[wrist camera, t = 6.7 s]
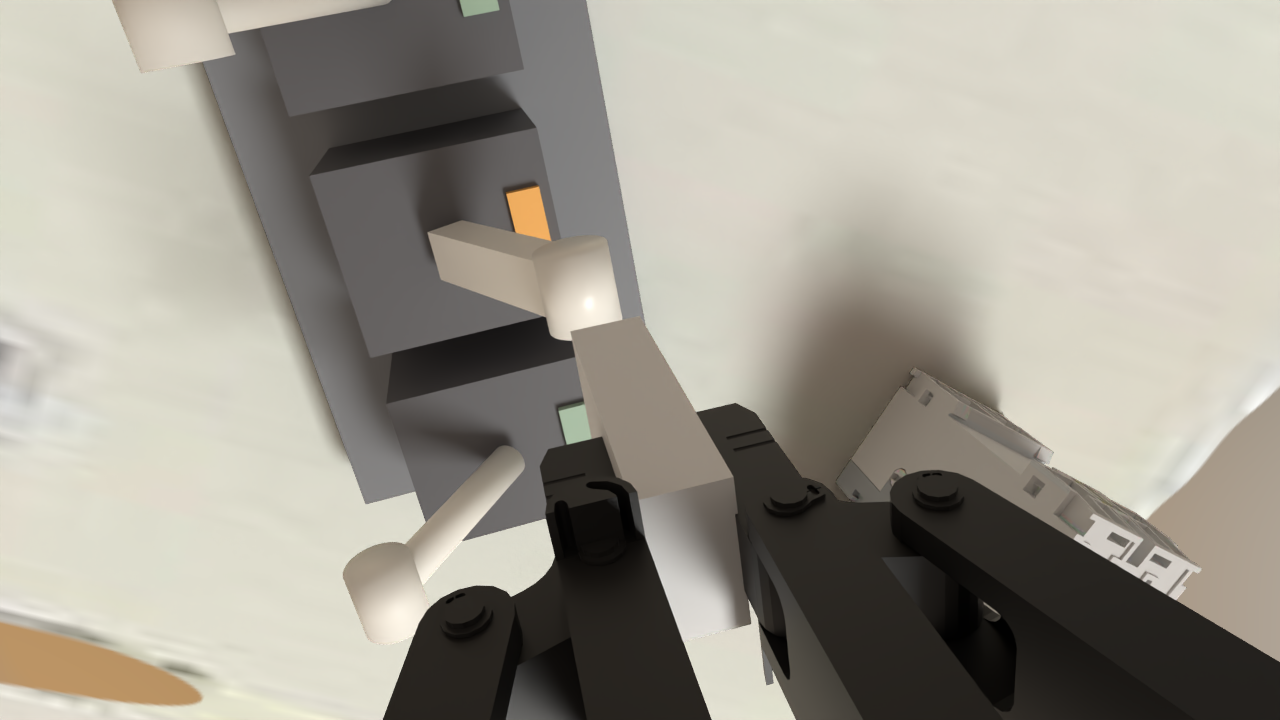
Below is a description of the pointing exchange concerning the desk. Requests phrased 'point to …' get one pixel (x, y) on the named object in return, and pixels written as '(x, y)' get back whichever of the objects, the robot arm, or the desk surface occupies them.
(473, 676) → the robot arm
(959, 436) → the circuit breaker
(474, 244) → the handle
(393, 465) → the breaker board
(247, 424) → the desk surface
